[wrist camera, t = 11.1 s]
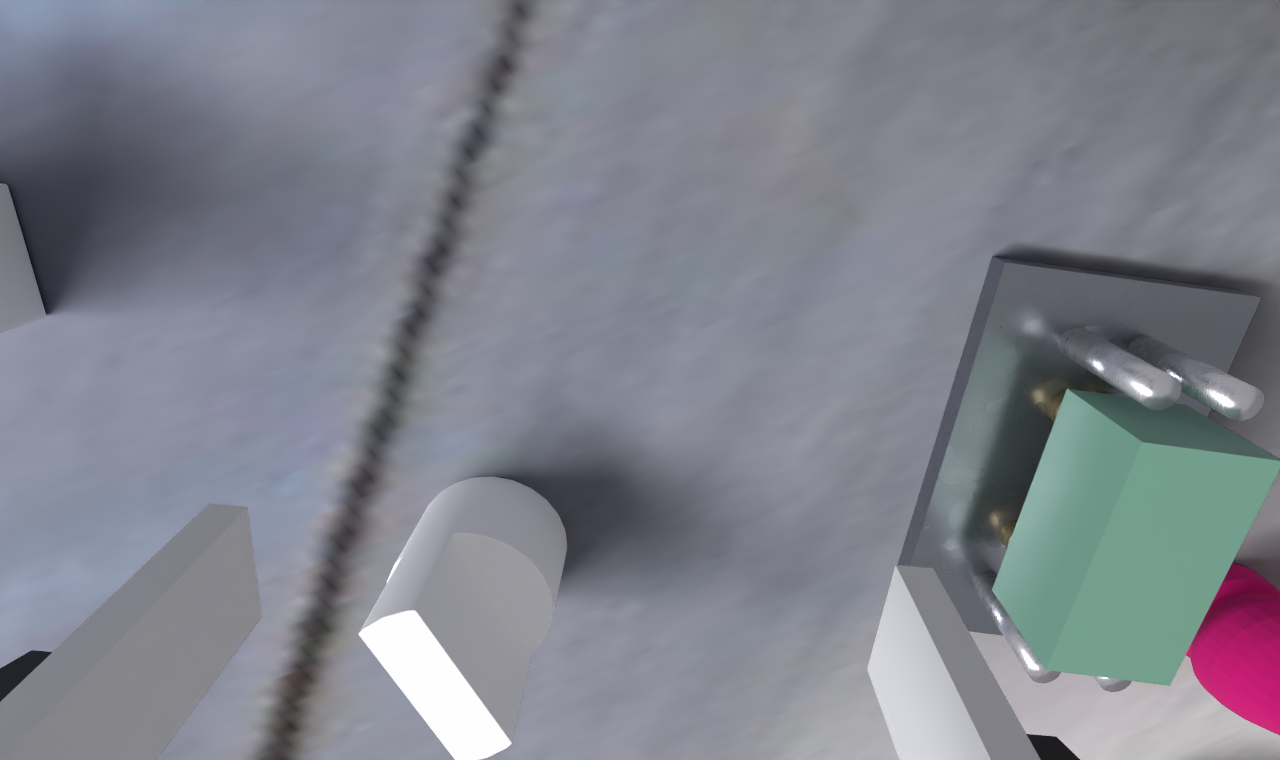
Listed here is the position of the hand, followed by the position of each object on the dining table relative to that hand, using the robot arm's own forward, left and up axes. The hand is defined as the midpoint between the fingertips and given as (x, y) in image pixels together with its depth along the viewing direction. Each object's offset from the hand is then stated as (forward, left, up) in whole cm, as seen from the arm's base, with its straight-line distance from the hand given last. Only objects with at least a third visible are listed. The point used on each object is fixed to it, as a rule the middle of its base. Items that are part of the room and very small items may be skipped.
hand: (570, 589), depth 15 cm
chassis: (+7, +25, -25) cm, 36 cm away
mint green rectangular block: (+7, +25, -21) cm, 34 cm away
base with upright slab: (+17, -6, -26) cm, 31 cm away
